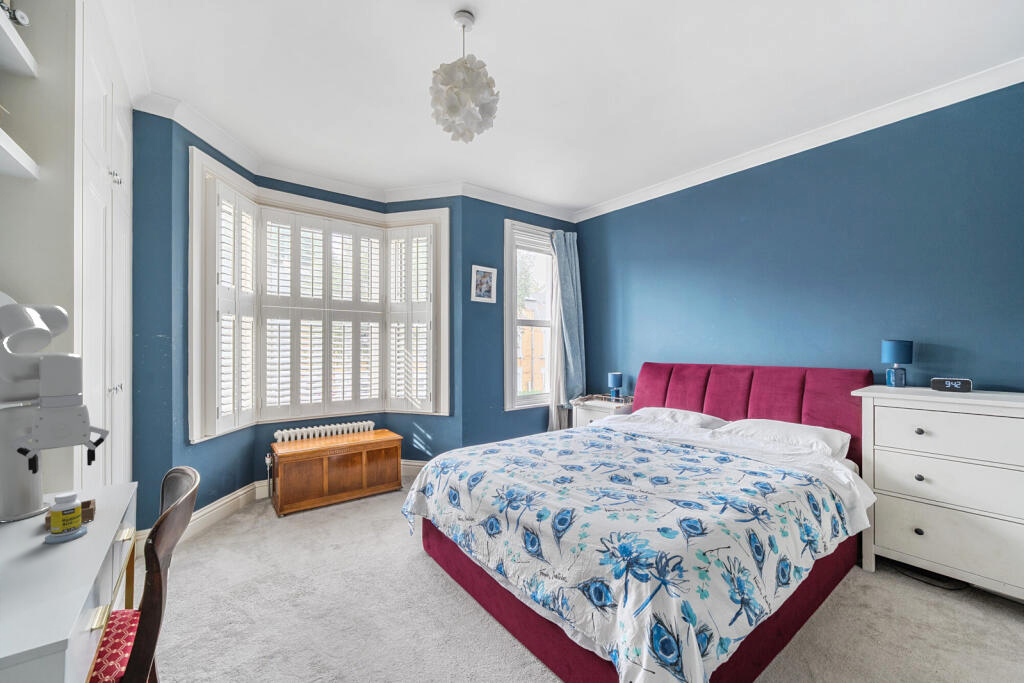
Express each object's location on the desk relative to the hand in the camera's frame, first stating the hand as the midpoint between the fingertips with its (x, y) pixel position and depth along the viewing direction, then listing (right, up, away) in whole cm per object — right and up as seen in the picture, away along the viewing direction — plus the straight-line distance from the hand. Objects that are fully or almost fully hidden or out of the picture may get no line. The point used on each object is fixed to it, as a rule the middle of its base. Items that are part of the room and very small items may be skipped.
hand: (63, 468), depth 109 cm
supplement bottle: (+1, -17, 0) cm, 17 cm away
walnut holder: (-8, -18, +10) cm, 22 cm away
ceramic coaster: (+1, -18, 0) cm, 18 cm away
